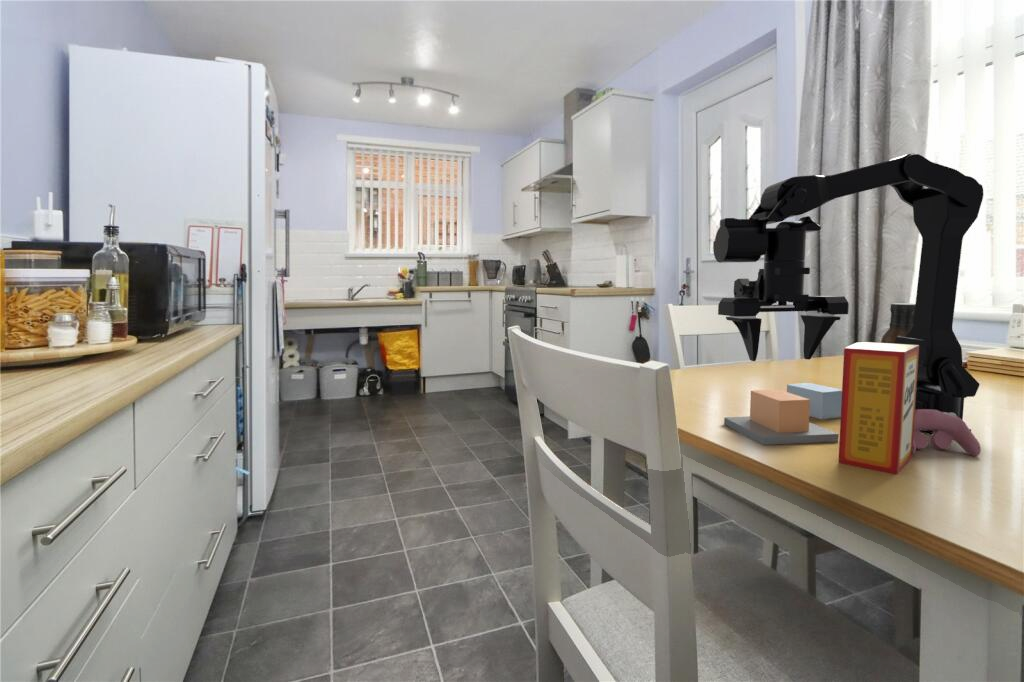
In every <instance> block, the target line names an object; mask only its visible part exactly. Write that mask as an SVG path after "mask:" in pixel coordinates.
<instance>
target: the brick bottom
mask: <svg viewBox="0 0 1024 682" xmlns="http://www.w3.org/2000/svg"><path fill="white" fill-rule="evenodd" d="M749 403H750V405H749V416H750V420H752V421H754V422H756V423H758V424H761V425H763V426H765V427H767V428H769V429H772V430H774V431H776V432H778V433H781V432H802V431H809V422H810V416H809V413H810V399H807V398H804V397H800V396H797V395H794V394H791V393H788V392H787V391H784V390H782V389H759V390H756V389H755V390H750V401H749Z"/></svg>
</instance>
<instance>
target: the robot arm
mask: <svg viewBox="0 0 1024 682" xmlns="http://www.w3.org/2000/svg"><path fill="white" fill-rule="evenodd" d="M885 186H890V187H892V188H893V189H894V191H895V193H896V194H897V196H898V197H899V199H900V200H901V201H903V202H904V203H905V204H907V205H909V206H911V207H912V211H913V213H912V214H913V215H912V216H913V222H914V224H915V227H916V228H917V230H918V233H919V234H920V236H921V240H922V241H921V242H922V243H921V251H920V259H919V260H920V261H919V269H918V279H917V285H916V287H917V288H916V297H915V303H914V304H915V313H914V322H913V327H912V329H911V330H910V331H909V333H908V334H907V335H906V337H896V340H895V344H909V345H919V357H918V372H917V387H916V402H915V410H918V409H932V410H938V411H941V412H947V413H951V412H952V413H955V414H956V416H957V417H959V418H961V419H962V420H963V421H964V419H963V417H964V407H965V406H964V405H965V399H966V398H968V397H969V398H970V397H973V398H974V397H975V396H976V394H977V392H978V390H979V388H980V383H979V381H978V380H976V379H975V378H974V377H973V375H972V374H971V373H970V372H969V371H968V370H967V369H966V368H965V367H964V366H963V349H962V346H961V344H960V341H959V340H958V338H957V337H956V335H955V332H954V330H953V324H954V314H955V305H956V297H957V289H958V281H959V280H958V279H959V273H960V264H961V255H962V248H963V247H962V246H963V241H964V240H963V239H964V236H965V235H966V233H967V232H968V231H969V229H970V228H971V227H972V226H973V224H974V223H975V221H976V220H977V219H978V215H979V213H980V210H981V206H982V203H983V199H984V187H983V184H981V183H979V181H978V180H977V179H975V178H973V177H972V176H969V175H965V174H963V173H962V172H960V171H959V170H957V169H955V168H952V167H949V166H946V165H942V164H940V163H936V162H932V161H931V160H929V159H928V158H926V157H924V156H923V155H922V154H919V153H915V152H913V153H907V154H905V155H902V156H898V157H894V158H892V159H890V160H887V161H882V162H878V163H875V164H871V165H866V166H862V167H859V168H855V169H851V170H847V171H843V172H839V173H836V174H830V175H828V174H827V175H817V174H814V175H813V174H812V175H800V176H799V175H797V176H792V177H789V178H787V179H785V180H782V181H781V180H780V181H779V182H776V183H774V184H771V185H769V186H767V187H766V188H765V189H764V190H763V193H762V194H761V197H760V203H759V204H758V205H757V207H756V209H755V210H754V212H753V213H752V214H751V215H750V217H749V218H735V217H726V218H722V219H720V220H719V228H718V229H717V231H716V233H715V236H714V238H715V239H714V240H713V246H712V247H713V251H712V252H713V256H714V259H715V261H716V262H718V263H756V262H757V261H759V260H760V259H761V257H762V256H764V257H763V259H764V260H763V268H759V269H758V273H757V280H750V279H749V278H737V279H736V280H734V284H733V297H722V298H721V300H719V303H718V305H717V308H718V309H717V315H718V316H720V315H721V316H725V319H726V320H727V321H730V322H732V324H734V325H735V327H737V329H738V332H739V333H740V336H741V338H742V341H743V344H744V348H745V349H746V352H747V356H748V357H749V358H748V359H749V360H750V361H751V362H756V361H757V356H758V352H759V346H760V345H759V344H760V336H761V327H762V318H759V317H756V316H757V315H758V314H759V313H776V312H777V313H778V312H779V313H781V312H785V313H786V312H787V313H788V312H805V313H806V314H800V318H801V321H802V323H803V326H804V333H803V358H804V360H811V359H812V358H813V355H814V354H815V352H816V351H817V349H818V347H819V346H820V344H821V342H822V341H823V339H824V338H825V336H826V334H827V333H828V331H829V330H830V328H832V326H833V324H834V323H836V321H840V320H841V316H838V315H849V308H850V303H849V301H848V300H847V298H846V297H845V296H843V295H842V296H840V295H809V294H804V289H805V288H804V287H805V286H804V285H805V275H810V274H811V268H810V267H805V266H806V264H805V263H806V262H805V261H806V238H807V234H808V233H815V232H819V231H821V230H822V226H820V224H818V223H817V222H816V221H814V220H813V219H812V218H811V216H810V215H808V216H803V217H800V218H799V219H798V221H786V219H788V218H792V217H797V216H801V215H803V214H806V213H809V212H810V211H813V210H815V209H817V208H819V207H821V206H823V205H825V204H827V203H829V202H830V201H832V200H835V199H839V198H842V197H846V196H851V195H855V194H858V193H862V192H867V191H869V190H873V189H878V188H883V187H885ZM776 223H778V224H777V225H776V226H775V227H767V225H771V224H776ZM777 303H778V304H777ZM787 303H788V304H787ZM789 303H792V304H789ZM836 315H837V316H836ZM969 430H970V431H971V432H972V429H971V428H969ZM922 431H923V432H926V433H929V434H930V433H931V434H933V431H931V430H922Z"/></svg>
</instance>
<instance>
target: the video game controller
mask: <svg viewBox="0 0 1024 682" xmlns="http://www.w3.org/2000/svg"><path fill="white" fill-rule="evenodd" d="M969 429H970V428H969V427H968V425H967V424H966V422H965V421H964V419H963V420H962V419H961V418H959V417H957V416H956V414H955V413H952V412H951V413H947V412H941V411H938V410H932V409H918V410H915V417H914V432H913V447H912V456H914V455H915V453H916V451H917V450H922V449H924V448H927V447H928V444H929V441H930V445H931V446H932V447H933V448H934V449H935V450H937V451H944V450H948V449H949V448H950V447H951V445H952V444H953V443H952V442H953V441H954V442H955V443H957V444H958V445H959V446H960V447H961V448H962V449H963V450H964V451H965V452H966V453H967V454H969V455H971V456H973V457H978V456H979V455H980V453H981V450H982V449H981V444H980V441H979V440H978V439H977V437H976V436H975V435H974V434H973V432H972V430H971V431H970V430H969ZM923 430H931V431H933V433H931V435H930V437H929V440H928V438H927V437H926V436H925V434H924V433H923V432H921V431H923Z"/></svg>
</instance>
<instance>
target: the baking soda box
mask: <svg viewBox="0 0 1024 682" xmlns="http://www.w3.org/2000/svg"><path fill="white" fill-rule="evenodd" d="M843 349H844V350H843V361H842V362H843V364H842V365H843V368H842V388H841V390H842V402H841V417H840V425H839V440H838V442H839V445H838V464H842V465H848V466H853V467H858V468H862V469H867V470H871V471H872V470H873V471H878V472H881V473H886V474H887V473H888V474H891V475H898V474H899V473H900V472H901V471H902V469H903V468H904V467H905V466H906V465H907V464H908V463H909V461H910V460H911V458H913V455H912V447H913V432H914V417H915V402H916V387H917V372H918V357H919V345H909V344H892V343H881V342H874V341H873V342H872V341H861V342H857V341H856V342H855V343H853V344H850V345H848V346H846V347H844V348H843Z"/></svg>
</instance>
